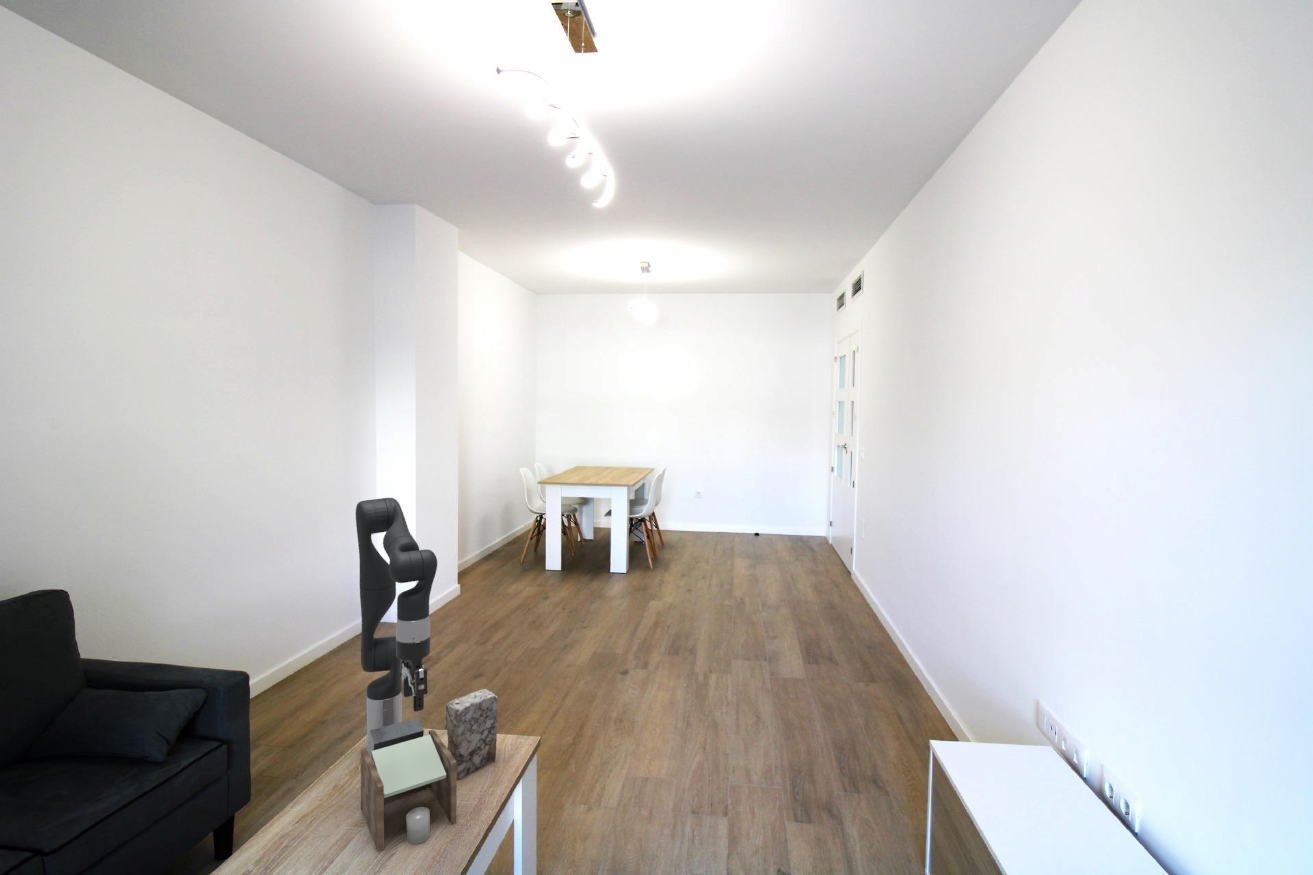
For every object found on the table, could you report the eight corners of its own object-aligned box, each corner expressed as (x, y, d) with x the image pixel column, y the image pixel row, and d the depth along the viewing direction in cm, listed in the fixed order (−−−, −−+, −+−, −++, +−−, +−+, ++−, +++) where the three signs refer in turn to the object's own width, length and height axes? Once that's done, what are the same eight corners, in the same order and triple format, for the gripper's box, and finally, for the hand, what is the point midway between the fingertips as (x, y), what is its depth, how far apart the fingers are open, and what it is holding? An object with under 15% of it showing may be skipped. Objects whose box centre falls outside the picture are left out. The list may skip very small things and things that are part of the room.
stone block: (460, 783, 166) (460, 709, 165) (444, 774, 170) (444, 702, 169) (499, 760, 177) (499, 691, 176) (483, 752, 181) (483, 685, 180)
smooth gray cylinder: (409, 823, 141) (410, 847, 142) (431, 815, 144) (432, 838, 145) (404, 812, 146) (404, 834, 146) (426, 804, 148) (426, 826, 149)
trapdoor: (364, 741, 159) (365, 731, 158) (421, 725, 167) (422, 716, 166) (383, 804, 143) (384, 794, 142) (445, 784, 151) (446, 774, 150)
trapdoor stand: (361, 808, 155) (360, 749, 154) (433, 784, 165) (433, 729, 165) (378, 851, 140) (377, 786, 139) (456, 822, 150) (456, 761, 150)
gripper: (388, 629, 150) (389, 695, 151) (404, 648, 139) (404, 719, 140) (421, 623, 155) (421, 687, 156) (438, 641, 143) (438, 710, 144)
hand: (413, 702), depth 148 cm, fingers open, 8 cm apart
